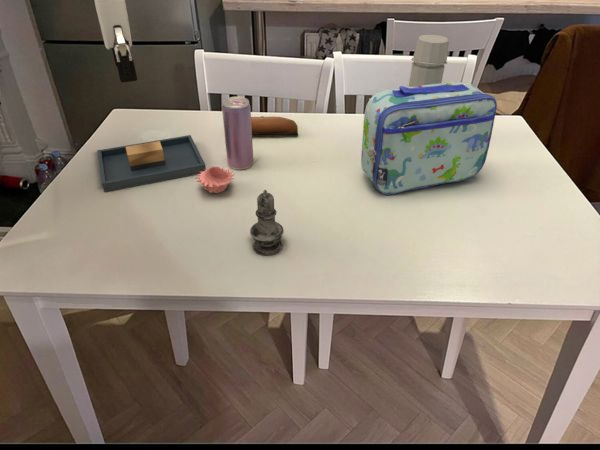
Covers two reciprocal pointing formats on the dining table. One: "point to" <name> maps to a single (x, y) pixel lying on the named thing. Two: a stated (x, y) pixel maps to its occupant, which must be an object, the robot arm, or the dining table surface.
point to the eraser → (145, 155)
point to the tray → (178, 160)
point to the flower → (215, 179)
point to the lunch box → (426, 135)
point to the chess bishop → (266, 227)
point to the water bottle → (429, 60)
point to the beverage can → (238, 132)
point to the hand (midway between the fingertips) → (126, 73)
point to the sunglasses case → (273, 125)
